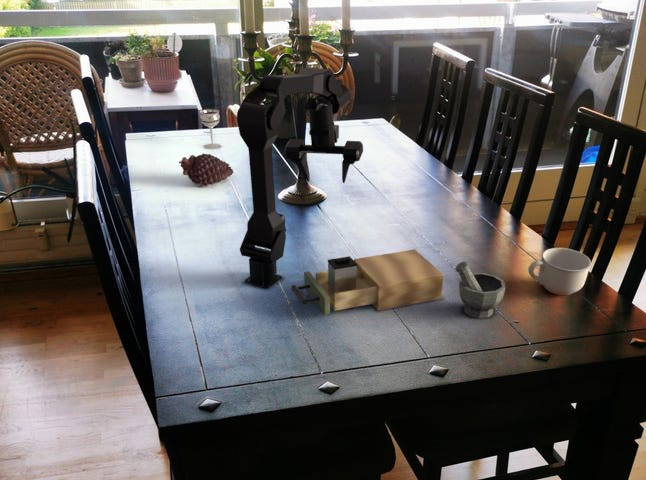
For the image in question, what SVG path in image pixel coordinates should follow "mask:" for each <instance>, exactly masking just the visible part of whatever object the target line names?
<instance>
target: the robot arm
mask: <svg viewBox="0 0 646 480" xmlns="http://www.w3.org/2000/svg"><path fill="white" fill-rule="evenodd" d="M300 94H308V95H314V96H313V97H308V99H307V101H306V102H305V103H304V105H303V110H305V111H307V113H308V122H309V131H308V134H309V136H310V143H311V144H306V140H305V139H301V138H290V139H289V141H288V142H287V143H286V145H285V147H284V149H283V150H284V151H283V154H284V159H286V160H289V161H290V163H294V164H295V166H296V167H297V168H298V170H299V171H300V172H301V174H302V176H303V177H304V178H305V180H306V182H308V183H309V182H310V180H311V176H310V168H309V163H308V154H322V155H342V161H341V180H342V183H343V184H345V183H346V180H347V176H348V172H349V169H350V165H354V164H355V163H356V162H359V161H360V160H361V157H362V155H363V152H364V144H363V143H362V141H360V140H346V142H345V144H344V145H336V144H337V143H338V139H339V138H340V125H339V124H335V121H334V115H336V114H337V113H339V112H340V111H341V110H342V109H344V108H345V107H347V105H348V104H349V103H350V101H351V98H352V95H351V92H350V89H348V87H347V86H346V85H345V84H344V82H343V79H342V78H336V76H335V75H334V71H333V70H332V69H327V68H319V67H310V66H306V67H304V68H302V69H299V73H291V74H280V75H271V74H267V75H264V76H263V77H262V78H261V79H260V81H259V84H258V85H257V86H256V87H254V88H253V89H252V90H251V91H250V92H248V93H247V94H245V96H244V98H243V100H242V102H241V104H240V106H239V108H238V110H237V111H236V112H237V113H236V122H237V127H238V132H239V136H240V137H241V139H242V141H243V142H244V144H245V145H246V147H247V151H248V159H249V160H248V161H249V172H250V185H251V186H250V187H251V196H252V197H251V198H252V213H251V215H250V217H249V219H248V221H247V224H246V226H247V227H246V232H245V234H244V237H243V240H242V242H241V244H240V247H239V252H240V255H241V256H242V257H247V258H249V259H248V268H249V276H248V277H246V278H245V279H244V283H246V284H250V285H253V286H257V287H260V288H263V289H269V288H270V287H272V286H273V285H274V284H276V283H277V282H279V281H280V280H281V279H283V275H281V274H277V273H278V272H277V262H278V261H279V260H280V259H281V258H283V257H284V252H285V246H286V239H287V233H286V232H287V227H286V216H285V214H283V213H279V212H278V211H277V208H276V207H277V206H276V192H275V190H276V189H275V178H274V177H275V175H274V158H273V145H274V143H275V141H276V139H277V138H278V136H279V133H280V124H281V122H282V120H283V118H284V116H285V115H286V104H285V99H286V98H287V97H288V96H292V95H300ZM268 96H271V97H276V102H275V104H274V106H273V105H270V104H269V105H268V104H262V103H263V101H265V100H266V98H267V97H268Z"/></svg>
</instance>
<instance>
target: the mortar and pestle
mask: <svg viewBox="0 0 646 480" xmlns="http://www.w3.org/2000/svg"><path fill="white" fill-rule="evenodd" d="M455 271H456V272H457V273H458V274H459V276H460V277H459V281H458V287H459V297H460V300H461V302H462V303H463V304H464V313H465V314H467V315H468V316H470V317H473V318H478V319H485V318H489V317H491V316H492V315H493V313H494V308H495V307H497V306H498V305H499V304H500V303H501V301H503V298H504V296H505V293H506V285H505V280H503V279H502V278H500V277H499V276H497V275H495V274H491V273H485V272H472V270H471V268H470V263H468V262H467V261H461V262H459V263H457V265H456V266H455Z"/></svg>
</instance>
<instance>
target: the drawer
mask: <svg viewBox="0 0 646 480" xmlns="http://www.w3.org/2000/svg"><path fill="white" fill-rule="evenodd" d="M290 289H291V291H292V293H293V294H294V295H295V296H296V298H297V299H298V301H299V302H300V303H301V305H302V306H306V305H307V304H308V303H311V302H314V304H315V305H316V307H317V308H318V309H319V310H320V312H321V313H322V314H323V316H330V315H331V308H332V309H333V311H334V312H336V311H341V310H346V309H350V308H351V309H352V308H358V307H362V306H368V305H373V304H374V303H377V293H378V287H377V286H376V285H375V284H374V283H373V282H372V281H371V280H370V279H369V278H368V277H367V276H366V275H365V274H364V273H363V272H362V270H361V269H360V268H359V267H358V266H356V290H352V291H346V292H340V293H335V294H333V296H332V295H331V294H330V292H329V291H328V270H324V271H323V270H322V271H317V272H315V276H314V275H313V274H312V273H311V272H310V271H304V272H303V285H296V284H292V285H291V287H290ZM301 290H304V291H305V292H306V294H307V295H308V296H309V297H308V298H307V297H306V296H305V295H304V293H303V292H302V291H301Z"/></svg>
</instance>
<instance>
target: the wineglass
mask: <svg viewBox="0 0 646 480" xmlns="http://www.w3.org/2000/svg"><path fill="white" fill-rule="evenodd" d="M199 113H200V115H199V120H200V122H201V124H203V125H204V126H205V127H207V128H208V129H209V133H210V141H211V144H207V145H205V148H206V149H211V150H215V149H218V148H220V147H221V146H220V145H219V144H216V143H215V144H214V141H213V140H214V139H213V129H214V127H216V126H218V124H219V123H220V121H221V116H220V110H219V109H215V108H206V109H202V110H200V111H199Z"/></svg>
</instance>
